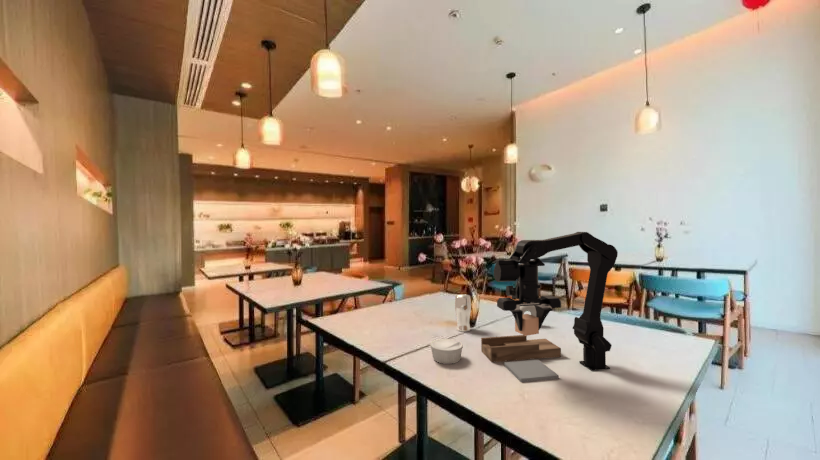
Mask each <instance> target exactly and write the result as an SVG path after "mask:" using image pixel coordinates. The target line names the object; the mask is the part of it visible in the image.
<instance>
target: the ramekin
mask: <svg viewBox="0 0 820 460" xmlns="http://www.w3.org/2000/svg"><path fill="white" fill-rule="evenodd" d="M429 344H430V345H429V346H430V349H431V354H432V359H433V360H434V361H435V362H436V361H437V363H438V362H439V363H438V364H442V363H443V364H445V365H452V363H453V364H455V363H458V362H459V361H460V360H461V357H462V350H463V348H464V346H463V343H462V341H459V340H457V339H452V338H439V339H435V340H433V341H431V342H430V343H429Z"/></svg>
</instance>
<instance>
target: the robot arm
mask: <svg viewBox="0 0 820 460" xmlns="http://www.w3.org/2000/svg"><path fill="white" fill-rule="evenodd" d="M574 247H579V248H580V249H581V250H582V251H583V252H585V253H586V255H587V256H586V257H587V258H586V259H587V264H588V266H589V275H588V276H589V277H588V283H587V288H586V294H585V300H584V305H583V306H584V307H583V311H582V314H581V315H580V316H579V317H578V316H574V319H573V320H574V321H573V322H574V323H573V326H572V330H573V333H574V336H575V337H576V338H577V340H578V342H579V344H582V346H583V349H582V350H583V353H582V354H583V355H582V357H583V360H579V364H581V365H582V366H583V367H586V368H587V369H588V370H590V371H602V370H603V371H604V370H611V367H610V366H609V365H607V364H606V362H607V360H606V357H607V356H606V355H607V354H606V353H607V352H611V349H612V343H611V342H610V341H609V340H607V338H605V337H604V326H603V322H602V318H601V314H602V310H603V309H602V308H603V304H604V303H603V302H604V297H605V292H606V286H607V285H606V284H607V278H608V274H609V272H610V271H611V270H612V268H613V267H614V266H615V263H616V261H617V258H618V249H617V248H616V247H615V246H614V245H612V244H610V243H609V244H608V243H607V242H605V241H604V240H601V239H600V238H597V237H596V236H593V234H591V233H590V232H588V231H576V232H574V233H569V234H564V235H560V236H554V237H550V238H546V239H522V240H519V241H518V242H517V244H516V245H515V250H514V251H513V253H512V254H511V255H510V257H509V259H496V262H495V265H494V269H493V277H494V280H495V281H496V283H497V282H498V283H500V282H502V283H503V282H504V283H505V282H516V281H517V280H518V282H517V283H516V287H514V286H513V285H506V286H505V293H506V296H507V297H499V298H498V299H497V301H496V304H497V305H496V307H498V309H500V310H502V311H504V312H505V311H506V312H508V311H509V312H511V314H512V316H513V317H514V322H515V321H516V323H517V326H518V329H519V331H522V319H523V311H522V310H520V306H533V305H534V306H535V308H536V312H537V313H536V317H538V318H539V331H540V329H541V328H542V325H543V323H544V322H545V320H546V318H547V317H548V315H549V313H550V312H552V311H553V309H559V308H560V309H561V308H562V301H561V299H560V298H559V297H557V296H554V295H548V294H547V295H541V296H540V297H539V289H541V284H540V283H539V267H544V266H545V262H543V261H542V260H541V259H540V258H541V257H543V256H545V255H547V254H548V253H550V252H555V251H560V250H564V249H567V248H574ZM516 299H517V300H516Z"/></svg>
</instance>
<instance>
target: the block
mask: <svg viewBox="0 0 820 460" xmlns="http://www.w3.org/2000/svg"><path fill="white" fill-rule="evenodd" d="M514 329H515V330H514V331H515V332H516V333H519V335H525V336H533V335H539V333H540V332H539V331H540V330H539V318H538V317H535V316H532V315H531V314H530V313H524V314H523V319H522V331H519V329H518V326H517V323H516V321H515V320H514Z"/></svg>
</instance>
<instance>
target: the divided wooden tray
mask: <svg viewBox="0 0 820 460" xmlns="http://www.w3.org/2000/svg"><path fill="white" fill-rule="evenodd" d="M527 338H528V337H527V336H525V335H523V334H519V335H503V336H490V337H489V336H488V337H481V338H480V339H481V340H480V342H481V346H480V347H481V353H482V354H483V355H484V356H485V357H486V358H487V359H488V360H489V361H490V362H491V363H501V362H502V363H504V362H514V361H527V360H540V359H550V358H553V359H554V358H561V357H562V348H561V347H560V346H559V345H556V344H555V343H553V342H552V341H550V340H548V339H547V338H537V339H527Z"/></svg>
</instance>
